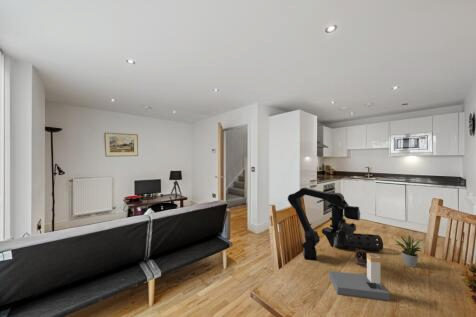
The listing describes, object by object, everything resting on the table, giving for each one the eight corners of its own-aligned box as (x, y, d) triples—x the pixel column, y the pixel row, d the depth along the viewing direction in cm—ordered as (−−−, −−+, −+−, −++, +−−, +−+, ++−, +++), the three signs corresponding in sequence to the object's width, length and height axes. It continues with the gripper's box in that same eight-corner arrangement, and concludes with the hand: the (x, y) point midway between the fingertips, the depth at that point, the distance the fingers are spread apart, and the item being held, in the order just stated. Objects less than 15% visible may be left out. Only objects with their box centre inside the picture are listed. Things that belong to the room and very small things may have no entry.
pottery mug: (379, 267, 101) (376, 257, 99) (364, 275, 101) (361, 265, 99) (362, 251, 113) (359, 241, 110) (348, 258, 113) (345, 249, 110)
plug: (371, 282, 80) (370, 257, 80) (366, 277, 84) (366, 253, 84) (380, 283, 79) (380, 258, 80) (375, 278, 83) (375, 253, 83)
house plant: (414, 258, 110) (414, 230, 110) (437, 272, 96) (437, 241, 97) (388, 257, 112) (388, 229, 112) (407, 270, 98) (407, 239, 98)
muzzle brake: (383, 254, 115) (383, 238, 115) (334, 250, 120) (334, 234, 120) (375, 247, 124) (375, 232, 124) (330, 243, 130) (330, 229, 130)
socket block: (337, 294, 81) (337, 287, 81) (329, 276, 92) (329, 270, 92) (389, 300, 77) (389, 293, 77) (373, 281, 89) (373, 275, 89)
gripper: (341, 223, 90) (341, 256, 89) (362, 217, 99) (362, 247, 99) (321, 217, 99) (321, 246, 99) (341, 212, 108) (342, 239, 108)
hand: (337, 245), depth 101 cm, fingers open, 9 cm apart
